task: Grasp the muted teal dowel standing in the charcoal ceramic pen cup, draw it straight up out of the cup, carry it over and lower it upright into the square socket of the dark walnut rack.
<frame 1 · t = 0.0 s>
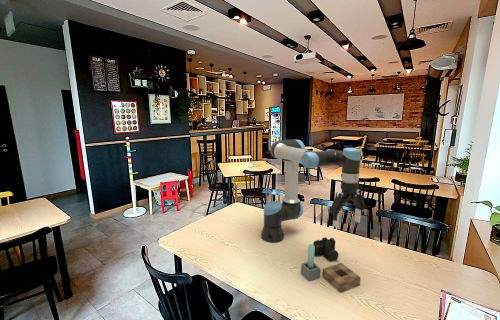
hand: (346, 224, 113), 28 cm above the table, fingers open, 13 cm apart
camera: (326, 257, 134), on the table
dowel: (310, 275, 117), point 1 cm above the table, touching pen cup
rack: (340, 282, 113), on the table
pen cup: (310, 276, 117), on the table
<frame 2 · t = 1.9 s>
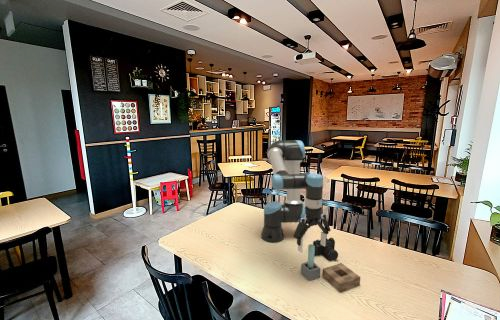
hand: (311, 248, 114), 16 cm above the table, fingers open, 13 cm apart
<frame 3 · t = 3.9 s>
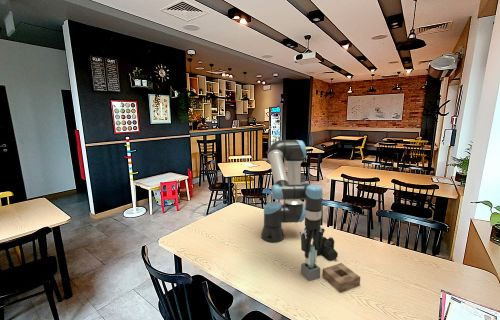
hand: (310, 262, 116), 8 cm above the table, fingers closed on dowel, 3 cm apart
dowel: (310, 275, 117), point 1 cm above the table, touching gripper, pen cup
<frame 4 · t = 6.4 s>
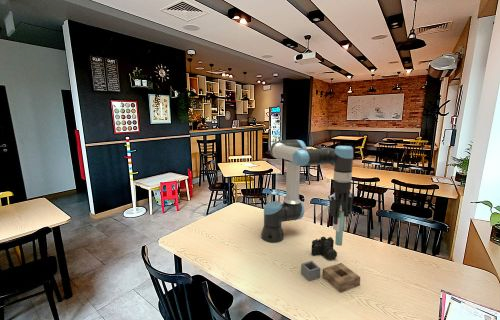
hand: (339, 229, 109), 27 cm above the table, fingers closed on dowel, 3 cm apart
dowel: (338, 244, 110), point 20 cm above the table, touching gripper
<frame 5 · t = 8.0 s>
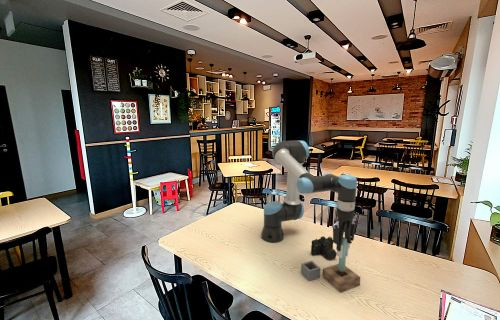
hand: (342, 255, 111), 14 cm above the table, fingers closed on dowel, 3 cm apart
dowel: (341, 269, 112), point 7 cm above the table, touching gripper
when the fingers open (9 cm above the table, at t = 9.2 s): dowel drops 2 cm, resting in rack.
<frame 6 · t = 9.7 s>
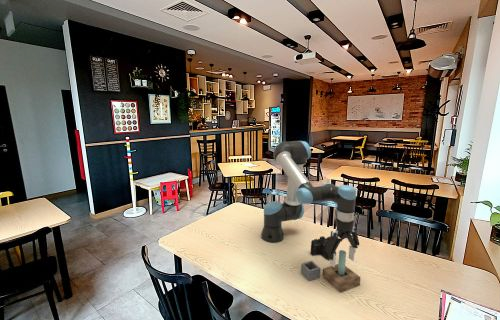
hand: (341, 262, 111), 11 cm above the table, fingers open, 11 cm apart
dowel: (340, 282, 113), resting in rack
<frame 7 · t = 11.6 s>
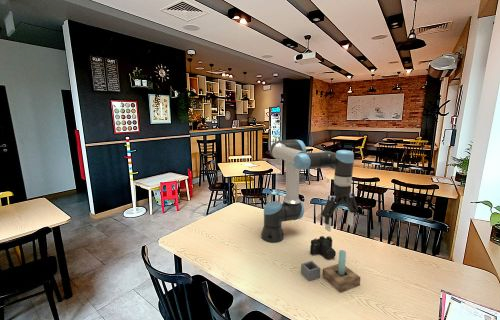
hand: (339, 227, 111), 27 cm above the table, fingers open, 13 cm apart
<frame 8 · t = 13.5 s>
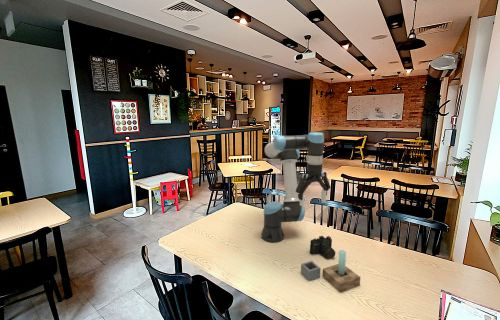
hand: (312, 203, 121), 35 cm above the table, fingers open, 13 cm apart
at the end: dowel 0.0 cm off-centre on the rack, point 0.0 cm above the rack's base; dowel tilted 0°; the gripper is holding nothing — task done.
